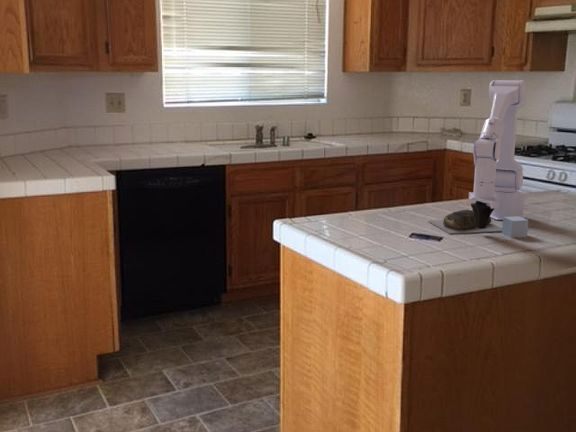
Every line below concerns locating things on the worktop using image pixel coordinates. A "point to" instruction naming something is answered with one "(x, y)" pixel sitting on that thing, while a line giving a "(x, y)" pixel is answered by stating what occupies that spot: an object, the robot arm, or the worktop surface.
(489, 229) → the letter board
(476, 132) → the worktop surface
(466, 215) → the rock
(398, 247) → the worktop surface
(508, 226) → the gray cube
